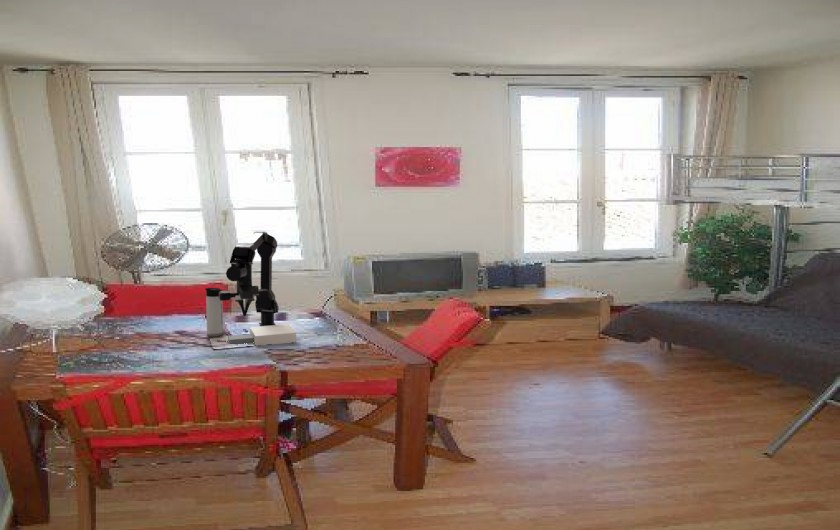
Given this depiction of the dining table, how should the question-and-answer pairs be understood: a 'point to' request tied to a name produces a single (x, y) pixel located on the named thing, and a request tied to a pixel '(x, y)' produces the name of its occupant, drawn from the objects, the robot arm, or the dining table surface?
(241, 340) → the grey rectangular block
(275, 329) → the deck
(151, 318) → the dining table surface
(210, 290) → the travel mug
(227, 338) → the mat
